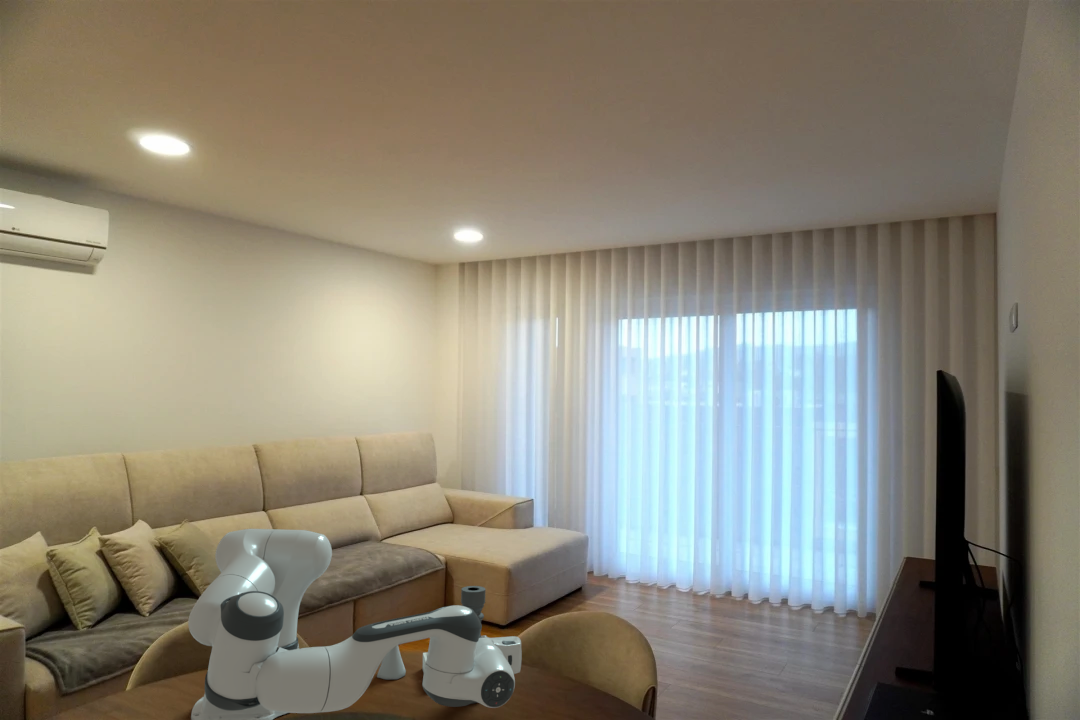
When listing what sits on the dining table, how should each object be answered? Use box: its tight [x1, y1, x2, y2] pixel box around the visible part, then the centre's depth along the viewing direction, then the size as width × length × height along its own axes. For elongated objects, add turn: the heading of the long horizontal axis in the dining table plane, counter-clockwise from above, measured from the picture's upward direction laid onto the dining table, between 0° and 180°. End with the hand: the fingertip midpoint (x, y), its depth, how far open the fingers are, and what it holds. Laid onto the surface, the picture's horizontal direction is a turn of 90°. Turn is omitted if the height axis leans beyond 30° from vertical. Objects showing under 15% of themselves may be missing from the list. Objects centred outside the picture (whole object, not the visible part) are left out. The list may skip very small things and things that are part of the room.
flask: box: [376, 645, 407, 680], centre depth 176 cm, size 7×7×10 cm
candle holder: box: [460, 585, 486, 705], centre depth 164 cm, size 6×6×25 cm
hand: (471, 639), depth 165 cm, fingers open, 4 cm apart
